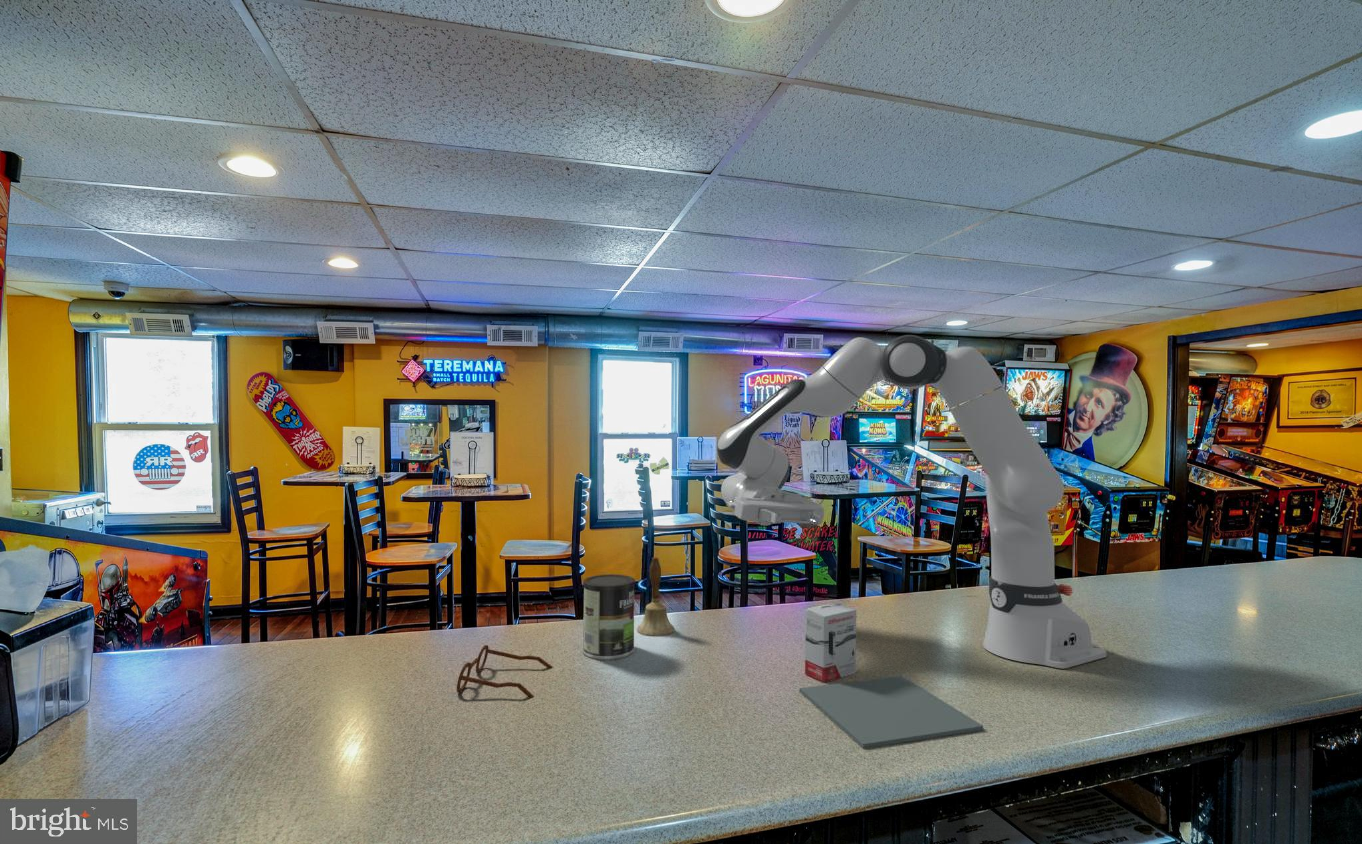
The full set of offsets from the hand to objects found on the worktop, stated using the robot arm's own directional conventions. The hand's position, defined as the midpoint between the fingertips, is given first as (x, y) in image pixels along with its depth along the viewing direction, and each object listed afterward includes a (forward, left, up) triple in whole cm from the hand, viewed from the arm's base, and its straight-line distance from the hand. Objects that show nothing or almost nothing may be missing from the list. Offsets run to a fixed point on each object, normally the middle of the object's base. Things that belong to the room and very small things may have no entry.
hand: (798, 520), depth 121 cm
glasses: (+56, +1, -27) cm, 62 cm away
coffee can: (+37, -10, -26) cm, 46 cm away
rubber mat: (-1, +27, -26) cm, 38 cm away
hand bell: (+25, -20, -26) cm, 41 cm away
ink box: (0, +12, -26) cm, 29 cm away
